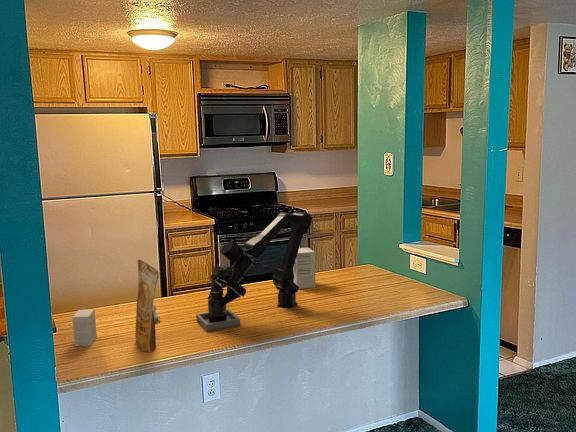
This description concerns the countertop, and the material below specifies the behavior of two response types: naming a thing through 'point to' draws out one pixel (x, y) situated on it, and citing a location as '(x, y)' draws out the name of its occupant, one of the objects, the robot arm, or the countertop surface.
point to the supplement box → (304, 268)
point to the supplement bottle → (216, 306)
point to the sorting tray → (230, 322)
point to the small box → (84, 327)
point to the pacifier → (155, 313)
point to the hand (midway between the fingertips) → (214, 303)
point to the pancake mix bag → (146, 306)
